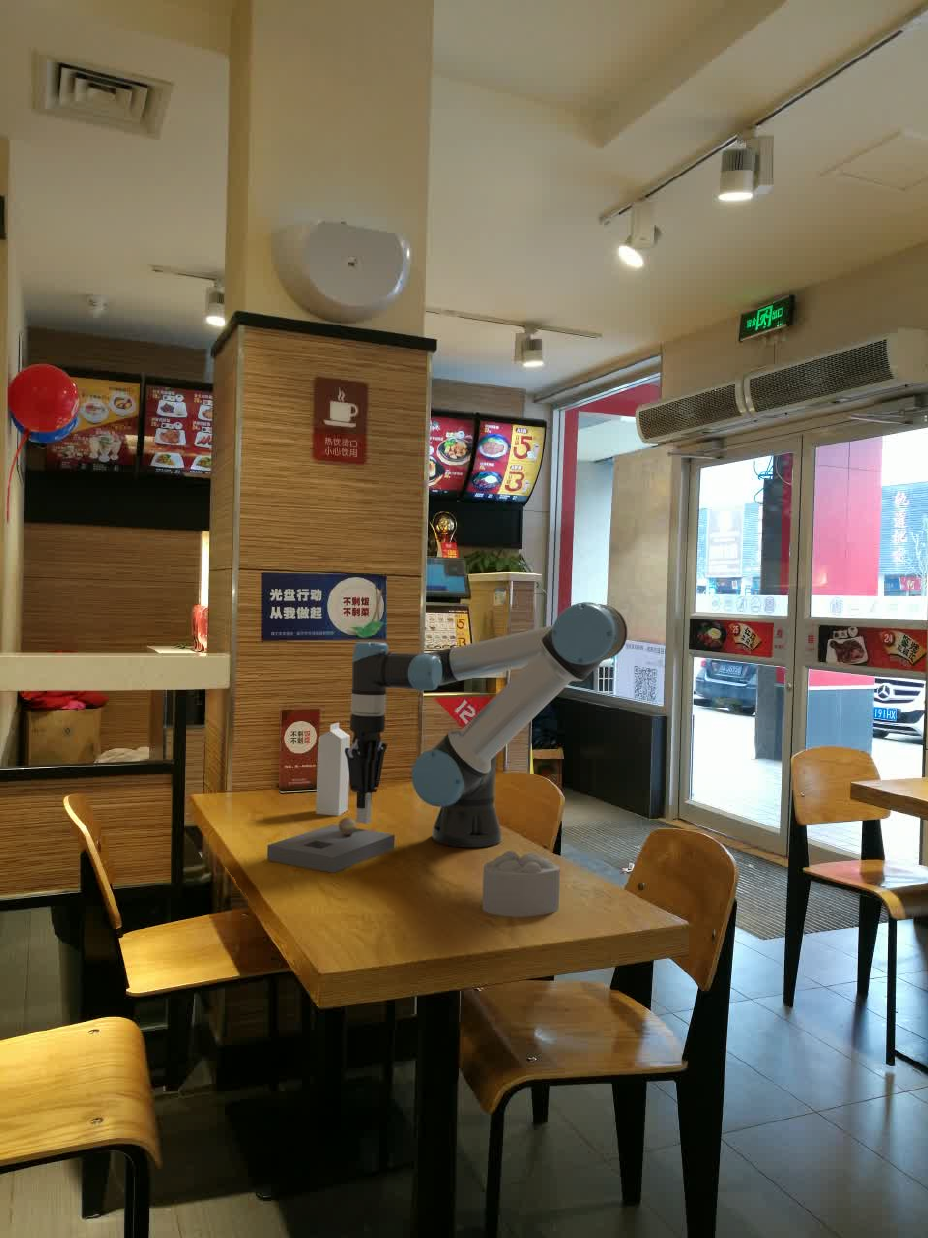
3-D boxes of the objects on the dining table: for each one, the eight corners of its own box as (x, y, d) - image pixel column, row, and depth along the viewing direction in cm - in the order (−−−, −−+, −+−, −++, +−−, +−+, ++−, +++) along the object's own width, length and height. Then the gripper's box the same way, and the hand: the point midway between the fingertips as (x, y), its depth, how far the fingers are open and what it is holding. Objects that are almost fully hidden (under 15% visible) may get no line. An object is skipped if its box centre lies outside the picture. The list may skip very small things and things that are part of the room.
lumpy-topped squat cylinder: (565, 911, 160) (567, 861, 160) (499, 921, 154) (501, 868, 154) (534, 894, 169) (535, 846, 169) (470, 902, 163) (472, 852, 163)
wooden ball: (359, 834, 197) (359, 817, 197) (349, 837, 193) (349, 820, 193) (344, 832, 198) (345, 815, 198) (334, 835, 195) (335, 818, 195)
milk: (315, 814, 228) (318, 724, 228) (325, 809, 234) (327, 721, 234) (339, 816, 227) (341, 725, 227) (348, 811, 233) (350, 722, 232)
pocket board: (394, 848, 197) (394, 834, 197) (333, 873, 178) (333, 857, 178) (332, 838, 205) (332, 824, 205) (266, 860, 185) (267, 845, 185)
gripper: (370, 709, 209) (366, 814, 209) (335, 714, 198) (331, 825, 198) (398, 712, 205) (394, 819, 206) (365, 717, 194) (360, 830, 194)
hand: (363, 822), depth 202 cm, fingers closed
